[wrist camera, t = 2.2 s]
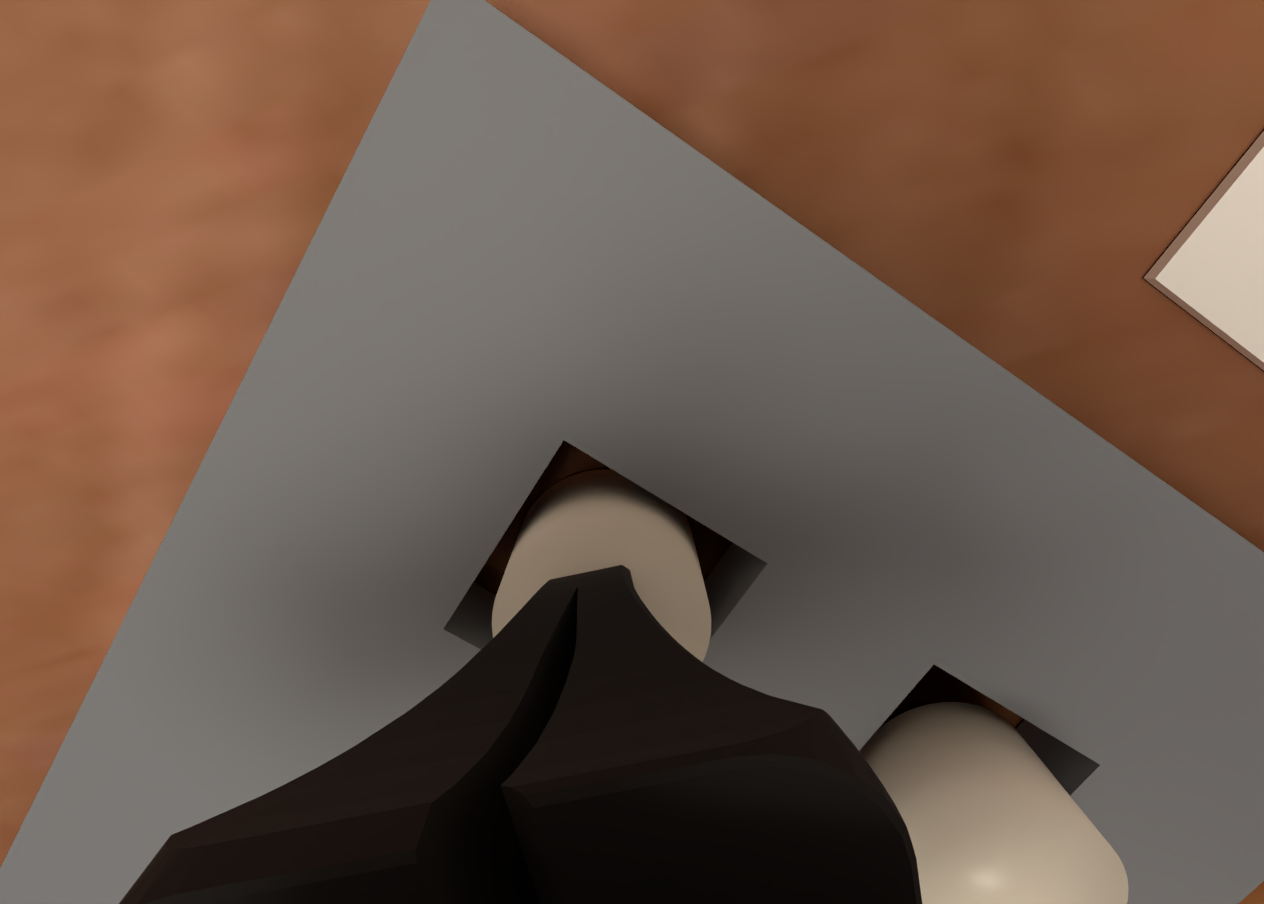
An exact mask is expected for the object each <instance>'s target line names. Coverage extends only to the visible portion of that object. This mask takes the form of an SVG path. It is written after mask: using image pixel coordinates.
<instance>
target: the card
mask: <svg viewBox="0 0 1264 904" xmlns="http://www.w3.org/2000/svg"><path fill="white" fill-rule="evenodd" d="M1144 279H1145V280H1146V281H1148V282H1149V283H1150V284H1152V285H1153V286H1154V287H1156V288H1157V289H1158V290H1159V291H1161V292H1162V293H1163V294H1165V295H1166V296H1167V297H1169V298H1170V299H1171V300H1172V301H1174V302H1175V303H1176V304H1178V305H1179V306H1180V307H1182V308H1183V309H1184V310H1185V311H1187V312H1188V313H1189V314H1191V315H1192V316H1193V317H1195V318H1196V319H1197V320H1198V321H1200V322H1201V323H1202V324H1204V325H1205V326H1206V327H1208V328H1209V329H1210V330H1211V331H1213V332H1214V333H1215V334H1217V335H1218V336H1219V337H1221V338H1222V339H1223V340H1224V341H1226V342H1227V343H1228V344H1230V345H1231V346H1232V347H1234V348H1235V349H1236V350H1238V351H1239V352H1240V353H1241V354H1243V355H1244V356H1245V357H1247V358H1248V359H1249V360H1251V361H1252V362H1253V363H1254V364H1256V365H1257V366H1258V367H1260V368H1261V369H1262V370H1264V131H1263V132H1262V134H1261V135H1260V136H1259V137H1258V138H1257V140H1256V141H1255V142H1254V143H1253V145H1252V146H1251V147H1250V148H1249V149H1248V151H1247V152H1246V153H1245V154H1244V156H1243V157H1242V158H1241V159H1240V160H1239V162H1238V163H1237V164H1236V165H1235V167H1234V168H1233V169H1232V170H1231V171H1230V173H1229V174H1228V175H1227V176H1226V178H1225V179H1224V180H1223V181H1222V182H1221V184H1220V185H1219V186H1218V187H1217V189H1216V190H1215V191H1214V192H1213V194H1212V195H1211V196H1210V197H1209V198H1208V200H1207V201H1206V202H1205V203H1204V205H1203V206H1202V207H1201V208H1200V209H1199V211H1198V212H1197V213H1196V214H1195V216H1194V217H1193V218H1192V219H1191V220H1190V222H1189V223H1188V224H1187V225H1186V227H1185V228H1184V229H1183V230H1182V231H1181V233H1180V234H1179V235H1178V236H1177V238H1176V239H1175V240H1174V241H1173V242H1172V244H1171V245H1170V246H1169V247H1168V249H1167V250H1166V251H1165V252H1164V253H1163V255H1162V256H1161V257H1160V258H1159V260H1158V261H1157V262H1156V263H1155V264H1154V266H1153V267H1152V268H1151V269H1150V271H1149V272H1148V273H1147V274H1146V276H1145V277H1144Z"/></svg>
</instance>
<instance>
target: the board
mask: <svg viewBox="0 0 1264 904" xmlns="http://www.w3.org/2000/svg"><path fill="white" fill-rule="evenodd" d="M563 440H565V441H566V442H568V443H569V444H571V445H573V446H574V447H576V448H578V449H579V450H581V451H583V452H584V453H586V454H588V455H589V456H591V457H593V458H594V459H596V460H598V461H599V462H601V463H603V464H604V465H606V466H607V467H609V468H611V469H612V470H614V471H616V472H617V473H619V474H621V475H622V476H624V477H626V478H627V479H629V480H631V481H632V482H634V483H636V484H637V485H639V486H640V487H642V488H644V489H645V490H647V491H649V492H650V493H652V494H654V495H655V496H657V497H659V498H660V499H662V500H664V501H665V502H667V503H669V504H670V505H672V506H674V507H675V508H677V509H678V510H680V511H682V512H683V513H685V514H687V515H688V516H690V517H692V518H693V519H695V520H697V521H698V522H700V523H702V524H703V525H705V526H707V527H708V528H710V529H711V530H713V531H715V532H716V533H718V534H720V535H721V536H723V537H725V538H726V539H728V540H730V541H731V542H733V543H732V544H731V545H730V547H729V548H728V549H727V551H726V552H725V554H724V555H723V556H722V558H721V559H720V560H719V562H718V563H717V564H716V566H715V567H714V568H713V570H712V571H711V573H710V574H709V575H708V577H707V578H706V579H705V581H704V585H705V589H706V593H707V597H708V601H709V605H710V612H711V636H710V642H709V646H708V649H707V652H706V656H705V658H704V660H703V663H704V664H706V665H707V666H709V667H710V668H712V669H713V670H715V671H717V672H719V673H721V674H722V675H724V676H726V677H728V678H729V679H731V680H733V681H735V682H738V683H740V684H742V685H744V686H747V687H749V688H752V689H754V690H757V691H759V692H762V693H764V694H767V695H770V696H773V697H777V698H781V699H785V700H788V701H792V702H796V703H800V704H804V705H808V706H812V707H816V708H819V709H823V710H824V711H825V712H827V713H828V714H829V715H830V716H831V717H832V719H833V720H834V721H835V722H836V723H837V724H838V726H839V727H840V728H841V729H842V730H843V732H844V733H845V734H846V735H847V737H848V738H849V739H850V740H851V741H852V743H853V744H854V745H855V746H856V748H857V749H858V750H860V749H861V748H862V747H863V746H864V745H865V743H866V742H867V741H868V740H869V739H870V738H871V737H872V735H873V734H874V733H875V732H876V731H877V730H878V728H879V727H880V726H881V725H882V724H883V723H884V722H885V720H886V719H887V718H888V717H889V716H890V715H891V713H892V712H893V711H894V710H895V709H896V708H897V706H898V705H899V704H900V703H901V702H902V701H903V700H904V698H905V697H906V696H907V695H908V694H909V693H910V691H911V690H912V689H913V688H914V687H915V686H916V684H917V683H918V682H919V681H920V680H921V679H922V678H923V676H924V675H925V674H926V673H927V672H928V671H929V669H930V668H931V667H932V666H933V665H936V666H938V667H939V668H941V669H943V670H944V671H946V672H948V673H949V674H951V675H953V676H954V677H956V678H957V679H959V680H961V681H962V682H964V683H966V684H967V685H969V686H971V687H972V688H974V689H976V690H977V691H979V692H981V693H982V694H984V695H986V696H987V697H989V698H990V699H992V700H994V701H995V702H997V703H999V704H1000V705H1002V706H1004V707H1005V708H1007V709H1009V710H1010V711H1012V712H1014V713H1015V714H1017V715H1019V716H1020V717H1022V718H1024V719H1025V720H1024V721H1023V722H1022V723H1021V724H1020V725H1019V726H1018V727H1017V728H1016V730H1017V731H1018V733H1019V734H1020V735H1021V736H1022V738H1023V739H1024V740H1025V741H1026V742H1027V744H1028V745H1029V746H1030V747H1031V749H1032V750H1033V751H1034V752H1035V753H1036V755H1037V756H1038V757H1039V758H1040V760H1041V761H1042V762H1043V763H1044V765H1045V766H1046V767H1047V768H1048V769H1049V771H1050V772H1051V773H1052V774H1053V776H1054V777H1055V778H1056V779H1057V780H1058V782H1059V783H1060V784H1061V785H1062V787H1063V788H1064V789H1065V790H1066V792H1067V793H1068V794H1069V795H1070V796H1071V798H1072V799H1073V800H1074V801H1075V803H1076V804H1077V805H1078V806H1079V807H1080V809H1081V810H1082V811H1083V812H1084V814H1085V815H1086V816H1087V817H1088V818H1089V820H1090V821H1091V822H1092V823H1093V825H1094V826H1095V827H1096V828H1097V830H1098V831H1099V832H1100V833H1101V834H1102V836H1103V837H1104V838H1105V839H1106V841H1107V842H1108V843H1109V844H1110V845H1111V847H1112V848H1113V849H1114V851H1115V852H1116V853H1117V855H1118V856H1119V858H1120V859H1121V861H1122V863H1123V865H1124V868H1125V871H1126V875H1127V879H1128V888H1129V889H1128V901H1127V904H1238V903H1239V902H1241V901H1242V900H1243V899H1244V898H1245V897H1246V896H1247V895H1248V894H1250V893H1251V892H1252V891H1253V890H1254V889H1255V888H1256V887H1257V886H1258V885H1260V884H1261V883H1262V882H1263V881H1264V552H1263V551H1261V550H1260V549H1258V548H1257V547H1256V546H1254V545H1253V544H1251V543H1250V542H1249V541H1247V540H1246V539H1244V538H1243V537H1242V536H1240V535H1239V534H1237V533H1236V532H1234V531H1233V530H1232V529H1230V528H1229V527H1227V526H1226V525H1225V524H1223V523H1222V522H1220V521H1219V520H1218V519H1216V518H1215V517H1213V516H1212V515H1210V514H1209V513H1208V512H1206V511H1205V510H1203V509H1202V508H1201V507H1199V506H1198V505H1196V504H1195V503H1194V502H1192V501H1191V500H1189V499H1188V498H1186V497H1185V496H1184V495H1182V494H1181V493H1179V492H1178V491H1177V490H1175V489H1174V488H1172V487H1171V486H1170V485H1168V484H1167V483H1165V482H1164V481H1162V480H1161V479H1160V478H1158V477H1157V476H1155V475H1154V474H1153V473H1151V472H1150V471H1148V470H1147V469H1146V468H1144V467H1143V466H1141V465H1140V464H1138V463H1137V462H1136V461H1134V460H1133V459H1131V458H1130V457H1129V456H1127V455H1126V454H1124V453H1123V452H1122V451H1120V450H1119V449H1117V448H1116V447H1114V446H1113V445H1112V444H1110V443H1109V442H1107V441H1106V440H1105V439H1103V438H1102V437H1100V436H1099V435H1098V434H1096V433H1095V432H1093V431H1092V430H1090V429H1089V428H1088V427H1086V426H1085V425H1083V424H1082V423H1081V422H1079V421H1078V420H1076V419H1075V418H1074V417H1072V416H1071V415H1069V414H1068V413H1066V412H1065V411H1064V410H1062V409H1061V408H1059V407H1058V406H1057V405H1055V404H1054V403H1052V402H1051V401H1050V400H1048V399H1047V398H1045V397H1044V396H1042V395H1041V394H1040V393H1038V392H1037V391H1035V390H1034V389H1033V388H1031V387H1030V386H1028V385H1027V384H1026V383H1024V382H1023V381H1021V380H1020V379H1018V378H1017V377H1016V376H1014V375H1013V374H1011V373H1010V372H1009V371H1007V370H1006V369H1004V368H1003V367H1002V366H1000V365H999V364H997V363H996V362H994V361H993V360H992V359H990V358H989V357H987V356H986V355H985V354H983V353H982V352H980V351H979V350H978V349H976V348H975V347H973V346H972V345H970V344H969V343H968V342H966V341H965V340H963V339H962V338H961V337H959V336H958V335H956V334H955V333H954V332H952V331H951V330H949V329H948V328H946V327H945V326H944V325H942V324H941V323H939V322H938V321H937V320H935V319H934V318H932V317H931V316H930V315H928V314H927V313H925V312H924V311H922V310H921V309H920V308H918V307H917V306H915V305H914V304H913V303H911V302H910V301H908V300H907V299H906V298H904V297H903V296H901V295H900V294H898V293H897V292H896V291H894V290H893V289H891V288H890V287H889V286H887V285H886V284H884V283H883V282H882V281H880V280H879V279H877V278H876V277H874V276H873V275H872V274H870V273H869V272H867V271H866V270H865V269H863V268H862V267H860V266H859V265H858V264H856V263H855V262H853V261H852V260H850V259H849V258H848V257H846V256H845V255H843V254H842V253H841V252H839V251H838V250H836V249H835V248H834V247H832V246H831V245H829V244H828V243H826V242H825V241H824V240H822V239H821V238H819V237H818V236H817V235H815V234H814V233H812V232H811V231H810V230H808V229H807V228H805V227H804V226H802V225H801V224H800V223H798V222H797V221H795V220H794V219H793V218H791V217H790V216H788V215H787V214H786V213H784V212H783V211H781V210H780V209H778V208H777V207H776V206H774V205H773V204H771V203H770V202H769V201H767V200H766V199H764V198H763V197H762V196H760V195H759V194H757V193H756V192H754V191H753V190H752V189H750V188H749V187H747V186H746V185H745V184H743V183H742V182H740V181H739V180H738V179H736V178H735V177H733V176H732V175H730V174H729V173H728V172H726V171H725V170H723V169H722V168H721V167H719V166H718V165H716V164H715V163H714V162H712V161H711V160H709V159H708V158H706V157H705V156H704V155H702V154H701V153H699V152H698V151H697V150H695V149H694V148H692V147H691V146H690V145H688V144H687V143H685V142H684V141H682V140H681V139H680V138H678V137H677V136H675V135H674V134H673V133H671V132H670V131H668V130H667V129H666V128H664V127H663V126H661V125H660V124H658V123H657V122H656V121H654V120H653V119H651V118H650V117H649V116H647V115H646V114H644V113H643V112H642V111H640V110H639V109H637V108H636V107H634V106H633V105H632V104H630V103H629V102H627V101H626V100H625V99H623V98H622V97H620V96H619V95H618V94H616V93H615V92H613V91H612V90H610V89H609V88H608V87H606V86H605V85H603V84H602V83H601V82H599V81H598V80H596V79H595V78H594V77H592V76H591V75H589V74H588V73H586V72H585V71H584V70H582V69H581V68H579V67H578V66H577V65H575V64H574V63H572V62H571V61H570V60H568V59H567V58H565V57H564V56H563V55H561V54H560V53H558V52H557V51H555V50H554V49H553V48H551V47H550V46H548V45H547V44H546V43H544V42H543V41H541V40H540V39H539V38H537V37H536V36H534V35H533V34H531V33H530V32H529V31H527V30H526V29H524V28H523V27H522V26H520V25H519V24H517V23H516V22H515V21H513V20H512V19H510V18H509V17H507V16H506V15H505V14H503V13H502V12H500V11H499V10H498V9H496V8H495V7H493V6H492V5H491V4H489V3H488V2H486V1H485V0H431V1H430V3H429V5H428V7H427V9H426V11H425V13H424V15H423V17H422V19H421V21H420V23H419V25H418V27H417V29H416V31H415V33H414V35H413V37H412V39H411V41H410V43H409V45H408V47H407V49H406V51H405V53H404V55H403V57H402V59H401V62H400V64H399V66H398V68H397V70H396V72H395V74H394V76H393V78H392V80H391V82H390V84H389V86H388V88H387V90H386V92H385V94H384V96H383V98H382V100H381V102H380V104H379V106H378V108H377V110H376V112H375V114H374V116H373V118H372V120H371V122H370V124H369V126H368V128H367V130H366V132H365V134H364V136H363V138H362V140H361V142H360V144H359V146H358V148H357V150H356V152H355V154H354V156H353V158H352V160H351V162H350V164H349V166H348V168H347V170H346V172H345V174H344V176H343V178H342V180H341V183H340V185H339V187H338V189H337V191H336V193H335V195H334V197H333V199H332V201H331V203H330V205H329V207H328V209H327V211H326V213H325V215H324V217H323V219H322V221H321V223H320V225H319V227H318V229H317V231H316V233H315V235H314V237H313V239H312V241H311V243H310V245H309V247H308V249H307V251H306V253H305V255H304V257H303V259H302V261H301V263H300V265H299V267H298V269H297V271H296V273H295V275H294V277H293V279H292V281H291V283H290V285H289V287H288V289H287V291H286V293H285V295H284V297H283V299H282V302H281V304H280V306H279V308H278V310H277V312H276V314H275V316H274V318H273V320H272V322H271V324H270V326H269V328H268V330H267V332H266V334H265V336H264V338H263V340H262V342H261V344H260V346H259V348H258V350H257V352H256V354H255V356H254V358H253V360H252V362H251V364H250V366H249V368H248V370H247V372H246V374H245V376H244V378H243V380H242V382H241V384H240V386H239V388H238V390H237V392H236V394H235V396H234V398H233V400H232V402H231V404H230V406H229V408H228V410H227V412H226V414H225V416H224V418H223V420H222V423H221V425H220V427H219V429H218V431H217V433H216V435H215V437H214V439H213V441H212V443H211V445H210V447H209V449H208V451H207V453H206V455H205V457H204V459H203V461H202V463H201V465H200V467H199V469H198V471H197V473H196V475H195V477H194V479H193V481H192V483H191V485H190V487H189V489H188V491H187V493H186V495H185V497H184V499H183V501H182V503H181V505H180V507H179V509H178V511H177V513H176V515H175V517H174V519H173V521H172V523H171V525H170V527H169V529H168V531H167V533H166V535H165V537H164V539H163V541H162V544H161V546H160V548H159V550H158V552H157V554H156V556H155V558H154V560H153V562H152V564H151V566H150V568H149V570H148V572H147V574H146V576H145V578H144V580H143V582H142V584H141V586H140V588H139V590H138V592H137V594H136V596H135V598H134V600H133V602H132V604H131V606H130V608H129V610H128V612H127V614H126V616H125V618H124V620H123V622H122V624H121V626H120V628H119V630H118V632H117V634H116V636H115V638H114V640H113V642H112V644H111V646H110V648H109V650H108V652H107V654H106V656H105V658H104V660H103V663H102V665H101V667H100V669H99V671H98V673H97V675H96V677H95V679H94V681H93V683H92V685H91V687H90V689H89V691H88V693H87V695H86V697H85V699H84V701H83V703H82V705H81V707H80V709H79V711H78V713H77V715H76V717H75V719H74V721H73V723H72V725H71V727H70V729H69V731H68V733H67V735H66V737H65V739H64V741H63V743H62V745H61V747H60V749H59V751H58V753H57V755H56V757H55V759H54V761H53V763H52V765H51V767H50V769H49V771H48V773H47V775H46V777H45V779H44V781H43V784H42V786H41V788H40V790H39V792H38V794H37V796H36V798H35V800H34V802H33V804H32V806H31V808H30V810H29V812H28V814H27V816H26V818H25V820H24V822H23V824H22V826H21V828H20V830H19V832H18V834H17V836H16V838H15V840H14V842H13V844H12V846H11V848H10V850H9V852H8V854H7V856H6V858H5V860H4V862H3V864H2V866H1V868H0V904H119V903H120V901H121V900H122V899H123V898H124V896H125V895H126V894H127V892H128V891H129V890H130V888H131V887H132V886H133V884H134V883H135V882H136V880H137V879H138V878H139V876H140V875H141V874H142V872H143V871H144V870H145V869H146V867H147V866H148V865H149V863H150V862H151V861H152V859H153V858H154V857H155V855H156V854H157V853H158V851H159V850H160V849H161V847H162V846H163V845H164V843H165V842H166V841H167V840H168V838H169V837H170V836H171V835H172V834H175V833H177V832H180V831H182V830H184V829H187V828H189V827H192V826H194V825H196V824H199V823H201V822H203V821H205V820H208V819H210V818H212V817H215V816H217V815H219V814H221V813H224V812H226V811H228V810H230V809H233V808H235V807H237V806H239V805H242V804H244V803H246V802H248V801H251V800H253V799H255V798H257V797H260V796H262V795H264V794H266V793H268V792H270V791H272V790H274V789H276V788H278V787H280V786H282V785H284V784H286V783H288V782H290V781H292V780H294V779H296V778H298V777H300V776H302V775H304V774H306V773H307V772H309V771H311V770H313V769H315V768H317V767H319V766H321V765H322V764H324V763H326V762H328V761H329V760H331V759H333V758H335V757H337V756H338V755H340V754H342V753H344V752H345V751H347V750H349V749H350V748H352V747H354V746H355V745H357V744H358V743H360V742H362V741H363V740H365V739H366V738H368V737H369V736H371V735H372V734H374V733H375V732H377V731H378V730H380V729H382V728H383V727H385V726H386V725H388V724H389V723H391V722H392V721H394V720H395V719H397V718H398V717H400V716H402V715H403V714H405V713H406V712H407V711H409V710H410V709H412V708H413V707H414V706H416V705H417V704H418V703H420V702H421V701H422V700H423V699H425V698H426V697H427V696H429V695H430V694H431V693H433V692H434V691H435V690H436V689H438V688H439V687H440V686H441V685H443V684H444V683H445V682H446V681H447V680H449V679H450V678H451V677H452V676H453V675H455V674H456V673H457V672H458V671H459V670H460V669H461V668H462V667H464V666H465V665H466V664H467V663H468V662H469V661H470V660H471V659H472V658H473V657H474V656H475V655H476V654H477V653H478V652H479V651H480V650H481V649H482V648H483V647H484V646H486V645H487V644H488V643H489V642H490V641H491V640H492V639H493V634H492V611H493V606H494V602H495V597H496V595H495V594H493V593H491V592H490V591H488V590H486V589H484V588H482V587H481V586H479V585H477V584H475V583H473V582H474V580H475V579H476V577H477V575H478V574H479V572H480V571H481V569H482V568H483V566H484V564H485V563H486V561H487V560H488V558H489V557H490V555H491V553H492V552H493V550H494V549H495V547H496V546H497V544H498V542H499V541H500V539H501V538H502V536H503V535H504V533H505V531H506V530H507V528H508V527H509V525H510V524H511V522H512V520H513V519H514V517H515V516H516V514H517V513H518V511H519V509H520V508H521V506H522V505H523V503H524V502H525V500H526V498H527V497H528V495H529V494H530V492H531V491H532V489H533V488H534V486H535V484H536V483H537V481H538V480H539V478H540V477H541V475H542V473H543V472H544V470H545V469H546V467H547V466H548V464H549V462H550V461H551V459H552V458H553V456H554V455H555V453H556V451H557V450H558V448H559V447H560V445H561V444H562V442H563Z"/></svg>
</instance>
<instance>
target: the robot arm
mask: <svg viewBox="0 0 1264 904" xmlns="http://www.w3.org/2000/svg"><path fill="white" fill-rule="evenodd" d="M119 904H922V898H921V890H920V882H919V875H918V867H917V859H916V855H915V852H914V848H913V845H912V841H911V838H910V835H909V832H908V829H907V826H906V824H905V822H904V820H903V818H902V816H901V814H900V812H899V811H898V809H897V807H896V805H895V803H894V802H893V800H892V798H891V797H890V795H889V794H888V792H887V790H886V789H885V787H884V786H883V784H882V783H881V781H880V780H879V778H878V777H877V775H876V774H875V772H874V771H873V769H872V768H871V767H870V765H869V764H868V763H867V761H866V760H865V758H864V757H863V756H862V754H861V753H860V752H859V750H858V749H857V748H856V746H855V745H854V744H853V743H852V741H851V740H850V739H849V738H848V737H847V735H846V734H845V733H844V732H843V730H842V729H841V728H840V727H839V726H838V724H837V723H836V722H835V721H834V720H833V719H832V717H831V716H830V715H829V714H828V713H827V712H825V711H824V710H823V709H819V708H816V707H812V706H808V705H804V704H800V703H796V702H792V701H788V700H785V699H781V698H777V697H773V696H770V695H767V694H764V693H762V692H759V691H757V690H754V689H752V688H749V687H747V686H744V685H742V684H740V683H738V682H735V681H733V680H731V679H729V678H728V677H726V676H724V675H722V674H721V673H719V672H717V671H715V670H713V669H712V668H710V667H709V666H707V665H706V664H704V663H703V662H702V661H700V660H699V659H697V658H696V657H695V656H694V655H692V654H691V653H690V652H689V651H687V650H686V649H685V648H684V647H683V646H682V645H680V644H679V643H678V642H677V641H676V640H675V639H674V638H673V637H672V636H671V635H670V634H669V633H668V632H667V631H666V630H665V629H664V628H663V627H662V626H661V624H660V623H659V622H658V621H657V620H656V619H655V617H654V616H653V615H652V614H651V612H650V611H649V610H648V608H647V607H646V605H645V604H644V603H643V601H642V600H641V598H640V597H639V595H638V594H637V592H636V590H635V588H634V585H633V580H632V576H631V572H630V570H629V569H628V568H626V567H625V566H623V565H618V566H613V567H609V568H604V569H599V570H594V571H589V572H585V573H580V574H575V575H570V576H565V577H560V578H555V579H550V580H549V581H547V582H546V583H545V584H544V585H543V586H542V587H541V588H540V589H539V590H538V591H537V592H536V593H535V594H534V595H533V596H532V598H531V599H530V600H529V601H528V602H527V603H526V604H525V605H524V606H523V607H522V608H521V610H520V611H519V612H518V613H517V614H516V615H515V616H514V617H513V618H512V619H511V620H510V621H509V622H508V623H507V624H506V625H505V627H504V628H503V629H502V630H501V631H500V632H499V633H498V634H497V635H496V636H495V637H494V638H493V639H492V640H491V641H490V642H489V643H488V644H487V645H486V646H484V647H483V648H482V649H481V650H480V651H479V652H478V653H477V654H476V655H475V656H474V657H473V658H472V659H471V660H470V661H469V662H468V663H467V664H466V665H465V666H464V667H462V668H461V669H460V670H459V671H458V672H457V673H456V674H455V675H453V676H452V677H451V678H450V679H449V680H447V681H446V682H445V683H444V684H443V685H441V686H440V687H439V688H438V689H436V690H435V691H434V692H433V693H431V694H430V695H429V696H427V697H426V698H425V699H423V700H422V701H421V702H420V703H418V704H417V705H416V706H414V707H413V708H412V709H410V710H409V711H407V712H406V713H405V714H403V715H402V716H400V717H398V718H397V719H395V720H394V721H392V722H391V723H389V724H388V725H386V726H385V727H383V728H382V729H380V730H378V731H377V732H375V733H374V734H372V735H371V736H369V737H368V738H366V739H365V740H363V741H362V742H360V743H358V744H357V745H355V746H354V747H352V748H350V749H349V750H347V751H345V752H344V753H342V754H340V755H338V756H337V757H335V758H333V759H331V760H329V761H328V762H326V763H324V764H322V765H321V766H319V767H317V768H315V769H313V770H311V771H309V772H307V773H306V774H304V775H302V776H300V777H298V778H296V779H294V780H292V781H290V782H288V783H286V784H284V785H282V786H280V787H278V788H276V789H274V790H272V791H270V792H268V793H266V794H264V795H262V796H260V797H257V798H255V799H253V800H251V801H248V802H246V803H244V804H242V805H239V806H237V807H235V808H233V809H230V810H228V811H226V812H224V813H221V814H219V815H217V816H215V817H212V818H210V819H208V820H205V821H203V822H201V823H199V824H196V825H194V826H192V827H189V828H187V829H184V830H182V831H180V832H177V833H175V834H172V835H171V836H170V837H169V838H168V840H167V841H166V842H165V843H164V845H163V846H162V847H161V849H160V850H159V851H158V853H157V854H156V855H155V857H154V858H153V859H152V861H151V862H150V863H149V865H148V866H147V867H146V869H145V870H144V871H143V872H142V874H141V875H140V876H139V878H138V879H137V880H136V882H135V883H134V884H133V886H132V887H131V888H130V890H129V891H128V892H127V894H126V895H125V896H124V898H123V899H122V900H121V901H120V903H119Z"/></svg>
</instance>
